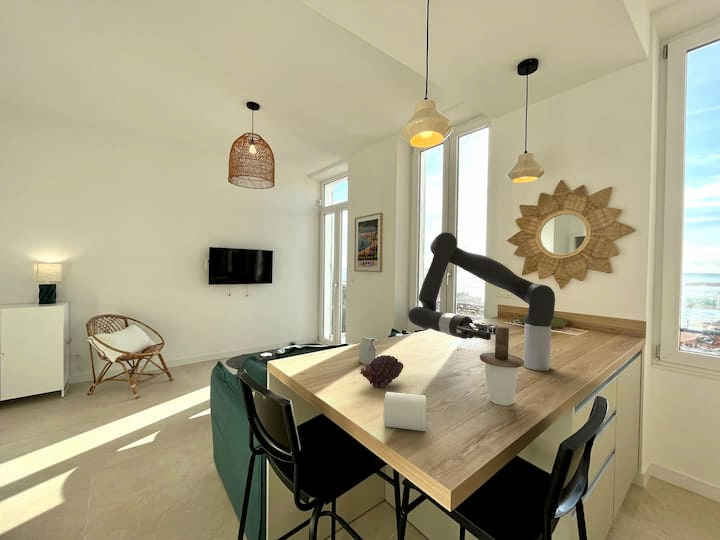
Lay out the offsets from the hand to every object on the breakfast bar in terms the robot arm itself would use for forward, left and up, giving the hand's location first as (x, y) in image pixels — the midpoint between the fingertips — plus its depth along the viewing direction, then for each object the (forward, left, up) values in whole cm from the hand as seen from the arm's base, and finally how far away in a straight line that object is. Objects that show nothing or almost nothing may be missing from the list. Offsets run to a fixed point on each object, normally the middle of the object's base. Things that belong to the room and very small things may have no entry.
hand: (498, 335), depth 94 cm
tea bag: (+15, -48, -20) cm, 54 cm away
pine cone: (+23, -26, -20) cm, 40 cm away
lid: (0, +1, -7) cm, 8 cm away
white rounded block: (+33, -4, -20) cm, 39 cm away
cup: (0, +1, -20) cm, 20 cm away
